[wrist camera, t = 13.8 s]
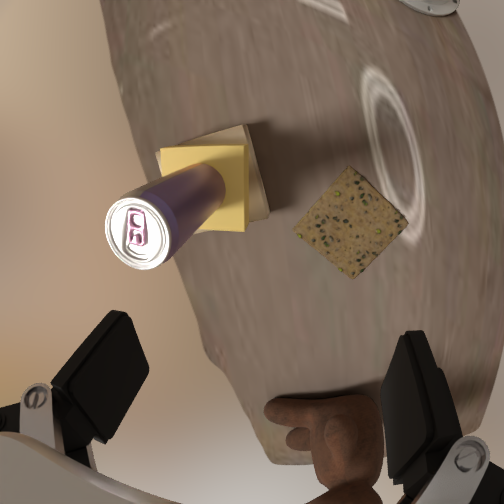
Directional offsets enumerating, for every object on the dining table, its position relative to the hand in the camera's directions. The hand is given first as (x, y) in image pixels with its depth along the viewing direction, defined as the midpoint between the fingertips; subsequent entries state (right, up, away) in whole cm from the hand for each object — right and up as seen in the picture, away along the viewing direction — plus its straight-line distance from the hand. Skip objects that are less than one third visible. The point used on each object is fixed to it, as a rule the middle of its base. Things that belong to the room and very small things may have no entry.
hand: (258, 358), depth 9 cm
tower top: (-6, +12, +26) cm, 30 cm away
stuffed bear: (+16, -30, +46) cm, 57 cm away
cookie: (+13, +7, +29) cm, 33 cm away
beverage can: (-6, +11, +24) cm, 27 cm away
